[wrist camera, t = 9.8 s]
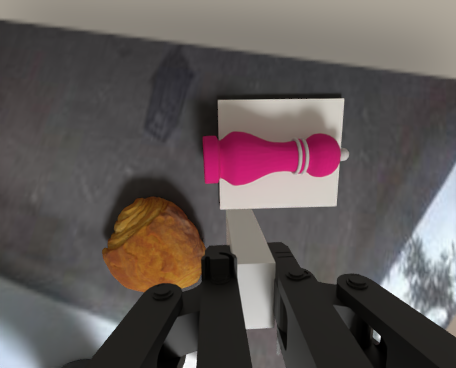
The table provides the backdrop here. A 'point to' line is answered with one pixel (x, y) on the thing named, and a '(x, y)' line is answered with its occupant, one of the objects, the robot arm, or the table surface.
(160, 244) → the croissant
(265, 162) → the pepper mill
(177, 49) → the table surface
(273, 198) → the white mat
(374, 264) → the table surface
